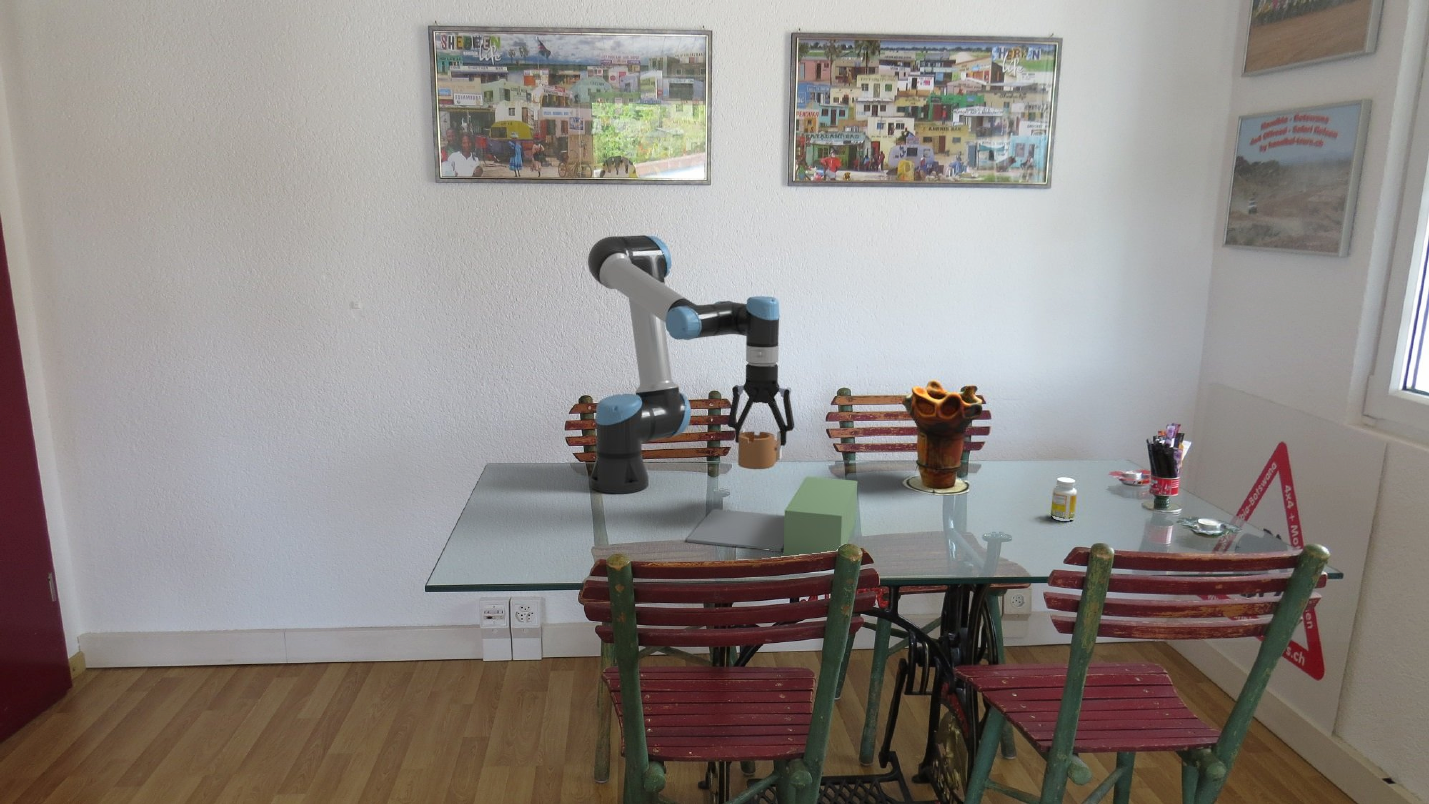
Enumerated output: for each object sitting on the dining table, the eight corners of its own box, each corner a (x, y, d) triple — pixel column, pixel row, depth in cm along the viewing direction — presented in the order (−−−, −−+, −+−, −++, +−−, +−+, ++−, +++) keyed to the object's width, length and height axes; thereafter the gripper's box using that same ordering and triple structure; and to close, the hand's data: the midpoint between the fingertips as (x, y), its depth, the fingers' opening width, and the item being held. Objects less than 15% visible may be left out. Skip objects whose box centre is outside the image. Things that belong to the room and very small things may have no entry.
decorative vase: (981, 474, 263) (987, 375, 255) (974, 503, 242) (981, 396, 234) (904, 467, 269) (908, 370, 262) (891, 495, 248) (895, 390, 241)
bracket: (770, 470, 219) (771, 440, 218) (734, 467, 221) (735, 438, 219) (783, 451, 236) (784, 423, 235) (750, 448, 238) (750, 421, 237)
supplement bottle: (1054, 522, 226) (1058, 482, 224) (1047, 514, 231) (1050, 476, 229) (1077, 522, 226) (1081, 483, 224) (1069, 514, 231) (1073, 476, 229)
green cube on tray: (684, 544, 209) (684, 500, 207) (715, 508, 233) (715, 468, 231) (840, 561, 200) (841, 515, 198) (855, 522, 225) (857, 480, 223)
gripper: (714, 363, 223) (713, 458, 228) (804, 368, 218) (802, 464, 223) (721, 358, 230) (720, 450, 235) (809, 362, 225) (806, 456, 230)
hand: (760, 457), depth 229 cm, fingers closed on bracket, 8 cm apart
